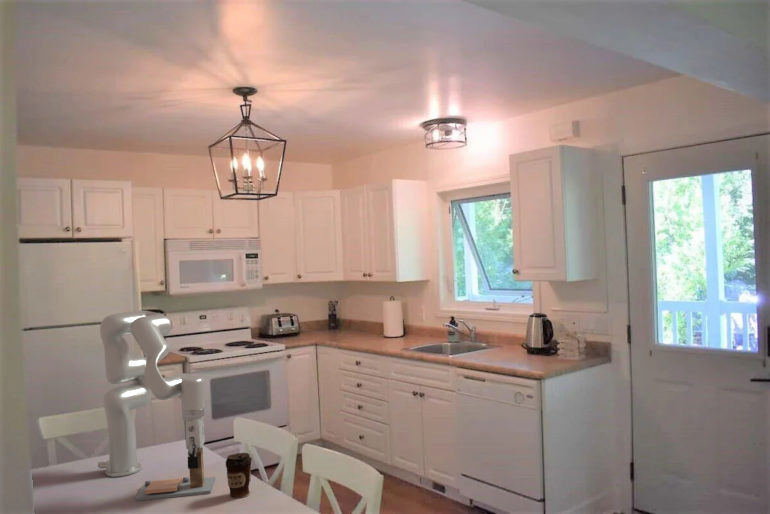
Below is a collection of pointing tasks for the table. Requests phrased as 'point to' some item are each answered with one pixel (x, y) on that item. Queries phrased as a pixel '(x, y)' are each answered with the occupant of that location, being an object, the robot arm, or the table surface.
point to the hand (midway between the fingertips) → (195, 463)
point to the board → (178, 490)
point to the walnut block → (197, 472)
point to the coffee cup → (239, 474)
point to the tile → (163, 486)
